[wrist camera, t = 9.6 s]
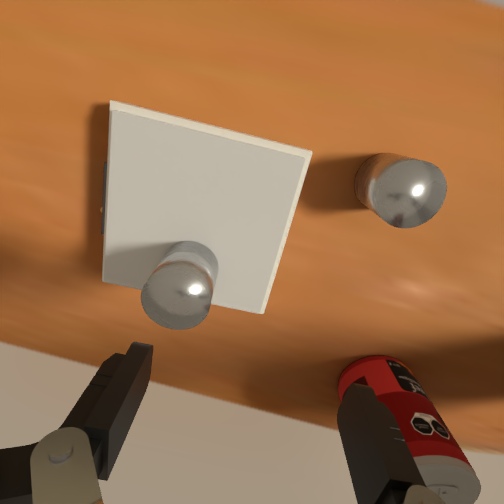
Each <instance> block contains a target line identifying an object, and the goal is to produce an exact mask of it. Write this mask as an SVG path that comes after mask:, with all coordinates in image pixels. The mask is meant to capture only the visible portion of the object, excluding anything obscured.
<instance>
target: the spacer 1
mask: <svg viewBox="0 0 504 504" xmlns="http://www.w3.org/2000/svg"><path fill="white" fill-rule="evenodd" d="M218 270H219V265H218V261H217V258H216V256H215V255H214V253H213V252H212V251H211V250H210V249H209V248H208V247H206V246H205V245H203V244H201V243H199V242H195V241H182V242H179V243H176V244H174V245H173V246H171V247H170V248H169V249H168V250H167V252H166V253H165V255H164V256H163V258H162V259H161V261H160V262H159V264H158V265H157V267H156V268H155V270H154V271H153V273H152V274H151V276H150V277H149V279H148V280H147V282H146V283H145V285H144V287H143V289H142V292H141V303H142V306H143V309H144V311H145V312H146V314H147V315H148V316H149V317H150V318H151V319H152V320H153V321H154V322H156V323H157V324H159V325H161V326H163V327H166V328H169V329H175V330H183V329H189V328H192V327H194V326H196V325H198V324H200V323H201V322H202V321H203V320H204V319H205V317H206V316H207V314H208V312H209V308H210V304H211V300H212V296H213V292H214V288H215V283H216V279H217V275H218Z"/></svg>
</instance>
